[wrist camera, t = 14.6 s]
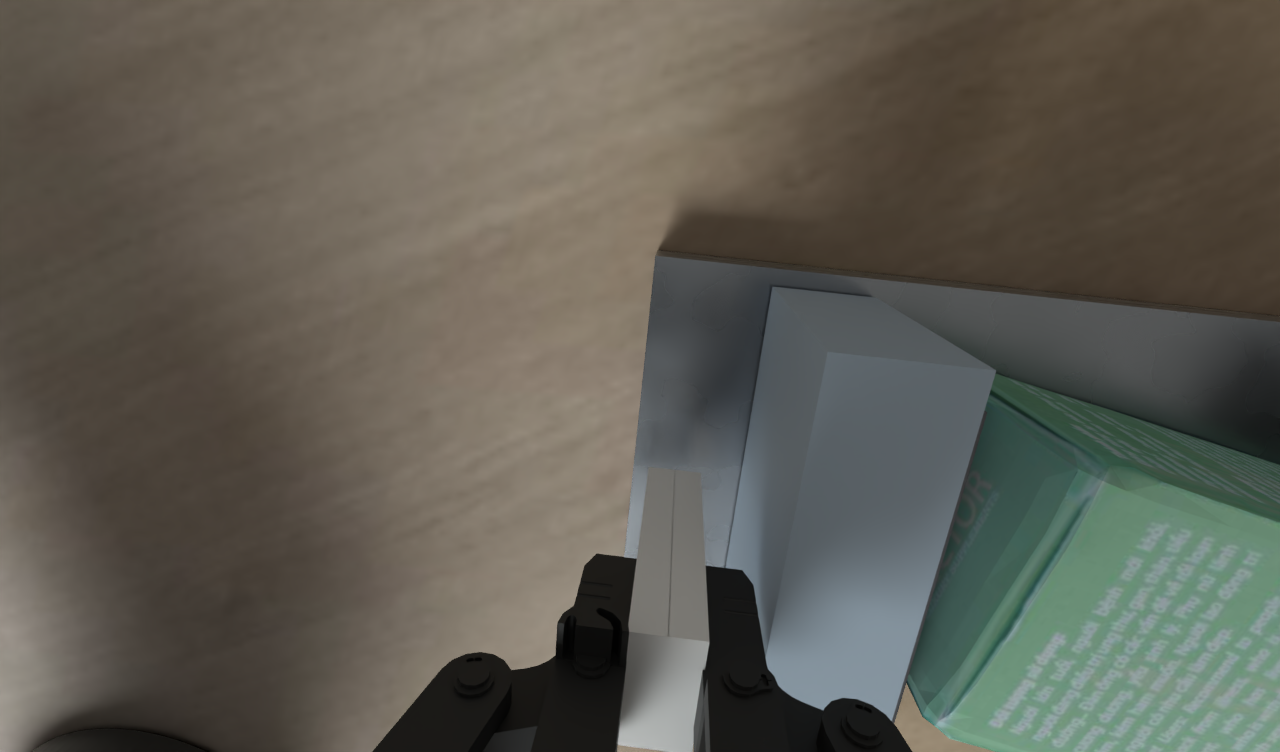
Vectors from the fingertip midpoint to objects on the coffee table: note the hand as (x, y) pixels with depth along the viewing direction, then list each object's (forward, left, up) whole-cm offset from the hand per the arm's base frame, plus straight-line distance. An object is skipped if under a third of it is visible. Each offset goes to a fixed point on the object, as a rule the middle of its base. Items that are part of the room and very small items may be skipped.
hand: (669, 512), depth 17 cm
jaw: (+4, 0, -2) cm, 5 cm away
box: (+13, 0, -3) cm, 14 cm away
